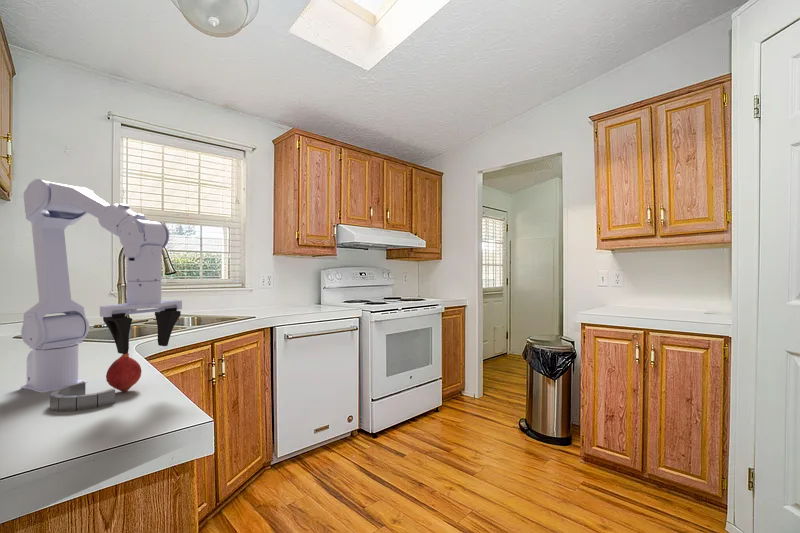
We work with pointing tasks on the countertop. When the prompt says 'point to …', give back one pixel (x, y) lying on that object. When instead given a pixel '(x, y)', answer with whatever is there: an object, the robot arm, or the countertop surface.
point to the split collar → (79, 398)
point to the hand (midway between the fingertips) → (143, 349)
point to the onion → (123, 373)
